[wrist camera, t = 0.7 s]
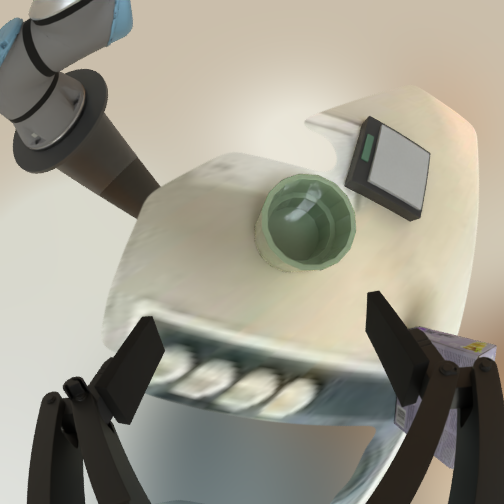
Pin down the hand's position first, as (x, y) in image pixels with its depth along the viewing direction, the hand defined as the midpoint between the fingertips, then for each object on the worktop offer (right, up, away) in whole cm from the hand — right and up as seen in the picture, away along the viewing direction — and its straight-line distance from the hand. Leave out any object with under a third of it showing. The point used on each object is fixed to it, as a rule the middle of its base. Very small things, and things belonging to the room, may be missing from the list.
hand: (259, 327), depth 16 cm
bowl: (+5, +7, +23) cm, 24 cm away
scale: (+22, +18, +25) cm, 38 cm away
